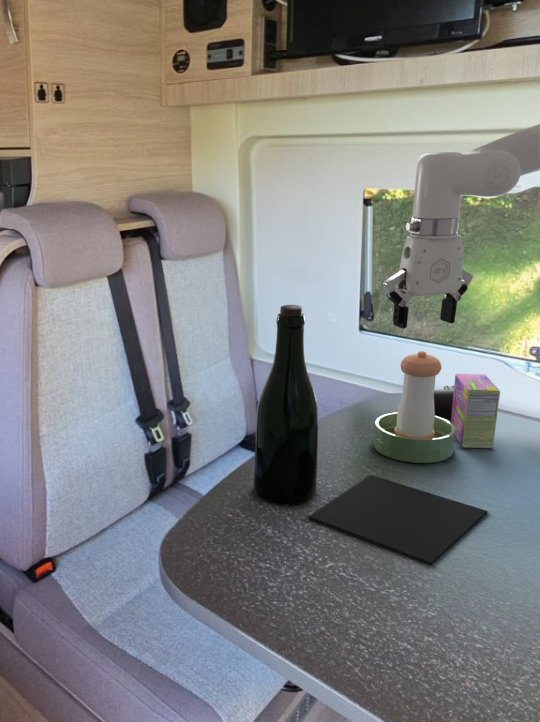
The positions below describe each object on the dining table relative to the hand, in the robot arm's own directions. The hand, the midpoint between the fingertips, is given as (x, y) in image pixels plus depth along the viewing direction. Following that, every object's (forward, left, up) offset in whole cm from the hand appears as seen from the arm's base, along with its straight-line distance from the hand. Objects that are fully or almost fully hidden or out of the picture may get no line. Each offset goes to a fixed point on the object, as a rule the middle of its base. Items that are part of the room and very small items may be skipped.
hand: (423, 324), depth 130 cm
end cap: (+3, -18, -25) cm, 31 cm away
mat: (-10, +26, -25) cm, 37 cm away
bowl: (0, 0, -25) cm, 25 cm away
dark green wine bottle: (+8, +31, -25) cm, 40 cm away
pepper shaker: (0, 0, -25) cm, 25 cm away
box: (-6, -12, -25) cm, 28 cm away
